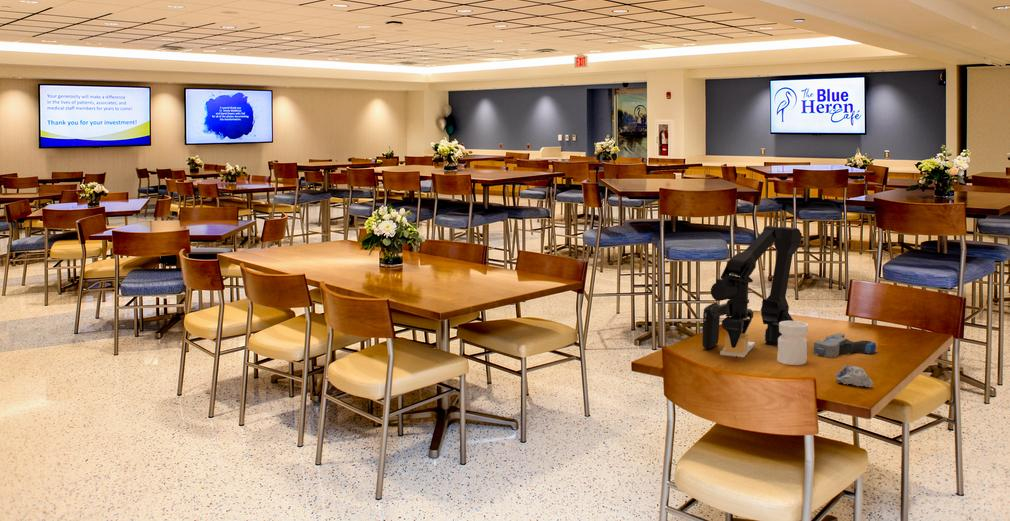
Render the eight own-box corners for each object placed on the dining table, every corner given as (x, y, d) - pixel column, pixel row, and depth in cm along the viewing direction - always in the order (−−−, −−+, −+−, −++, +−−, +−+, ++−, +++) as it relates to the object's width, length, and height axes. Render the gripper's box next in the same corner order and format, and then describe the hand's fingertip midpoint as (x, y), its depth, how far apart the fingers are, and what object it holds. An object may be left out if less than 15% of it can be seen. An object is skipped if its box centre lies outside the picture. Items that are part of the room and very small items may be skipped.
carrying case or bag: (708, 352, 278) (709, 307, 276) (699, 350, 280) (700, 306, 278) (719, 345, 287) (721, 302, 285) (711, 343, 289) (712, 301, 286)
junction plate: (754, 345, 287) (755, 332, 286) (743, 357, 272) (744, 343, 271) (732, 342, 290) (732, 329, 290) (720, 354, 275) (720, 341, 275)
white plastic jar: (786, 365, 263) (788, 327, 261) (771, 358, 271) (773, 321, 269) (811, 364, 264) (814, 326, 262) (797, 356, 273) (799, 320, 271)
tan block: (747, 349, 278) (748, 334, 277) (743, 353, 273) (744, 338, 272) (729, 346, 281) (729, 332, 280) (724, 351, 276) (725, 336, 275)
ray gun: (879, 339, 278) (833, 332, 288) (857, 351, 264) (810, 343, 274) (878, 352, 279) (833, 344, 289) (856, 364, 265) (809, 356, 275)
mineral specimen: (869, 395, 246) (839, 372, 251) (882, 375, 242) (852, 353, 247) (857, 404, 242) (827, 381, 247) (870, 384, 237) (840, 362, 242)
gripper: (720, 289, 286) (718, 335, 288) (706, 300, 269) (704, 348, 272) (754, 292, 281) (752, 338, 283) (742, 303, 264) (740, 352, 267)
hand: (736, 344), depth 276 cm, fingers open, 9 cm apart
